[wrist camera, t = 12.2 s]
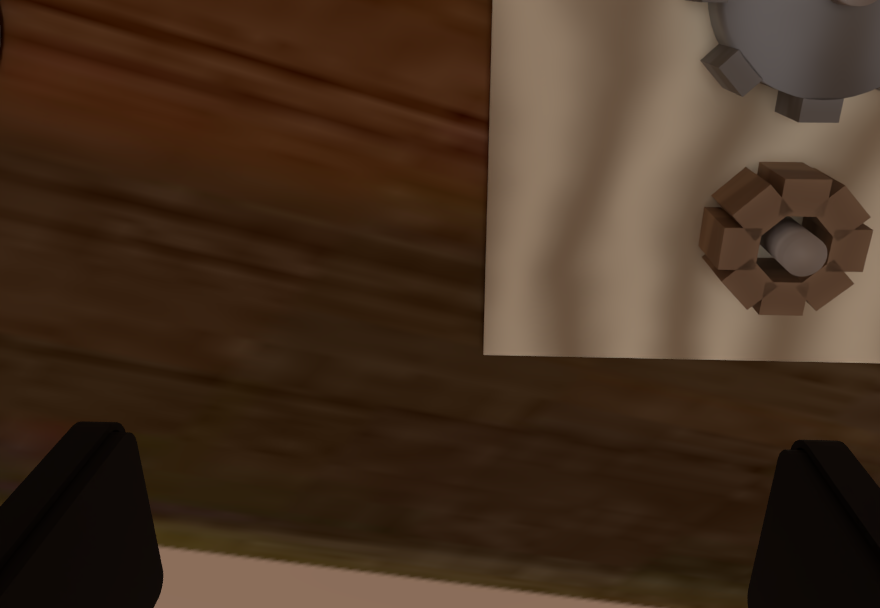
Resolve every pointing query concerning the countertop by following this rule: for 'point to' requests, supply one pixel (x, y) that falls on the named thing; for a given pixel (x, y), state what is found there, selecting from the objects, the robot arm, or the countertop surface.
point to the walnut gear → (759, 209)
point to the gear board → (670, 172)
